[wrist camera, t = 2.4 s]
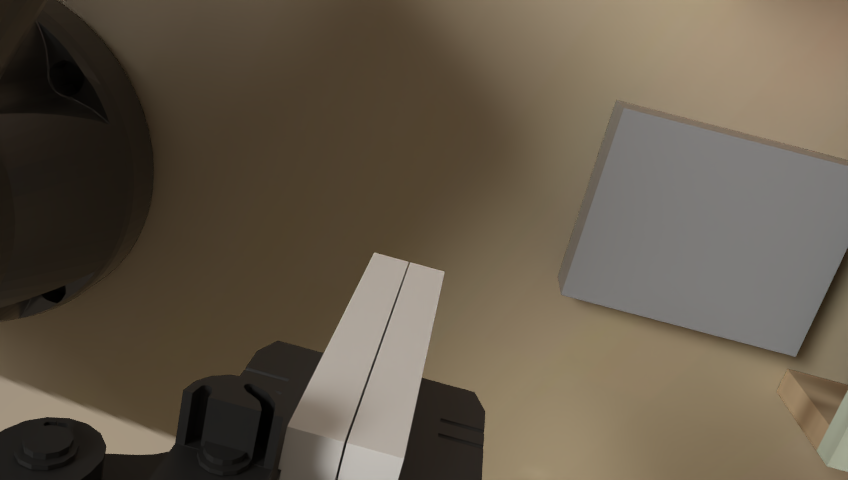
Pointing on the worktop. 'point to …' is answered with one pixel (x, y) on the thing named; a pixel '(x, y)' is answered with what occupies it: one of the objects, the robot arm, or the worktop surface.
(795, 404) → the shelf
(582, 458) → the worktop surface
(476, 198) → the worktop surface
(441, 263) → the worktop surface
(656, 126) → the slate tile
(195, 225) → the worktop surface
